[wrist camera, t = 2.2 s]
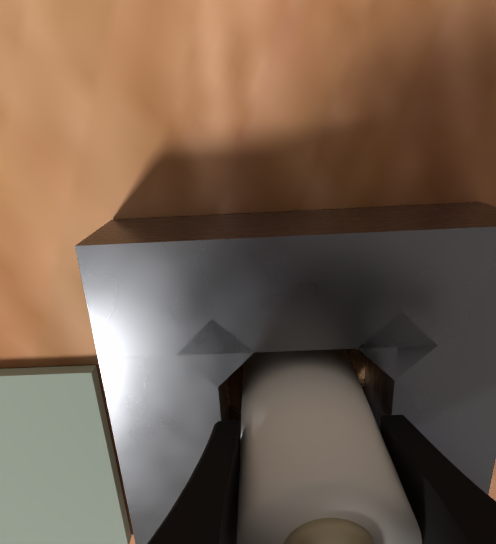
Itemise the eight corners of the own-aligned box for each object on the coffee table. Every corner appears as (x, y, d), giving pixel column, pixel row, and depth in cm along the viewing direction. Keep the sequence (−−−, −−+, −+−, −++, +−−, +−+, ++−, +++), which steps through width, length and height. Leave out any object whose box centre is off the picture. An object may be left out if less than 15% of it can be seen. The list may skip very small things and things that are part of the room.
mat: (131, 536, 19) (128, 546, 18) (-21, 540, 19) (-28, 551, 18) (96, 365, 16) (91, 372, 15) (-86, 371, 16) (-97, 379, 15)
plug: (347, 410, 16) (417, 624, 9) (245, 413, 16) (240, 627, 9) (351, 318, 15) (437, 491, 8) (239, 322, 15) (229, 497, 8)
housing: (439, 484, 17) (475, 555, 15) (157, 493, 18) (139, 564, 15) (481, 202, 13) (542, 224, 10) (111, 219, 14) (74, 245, 11)
